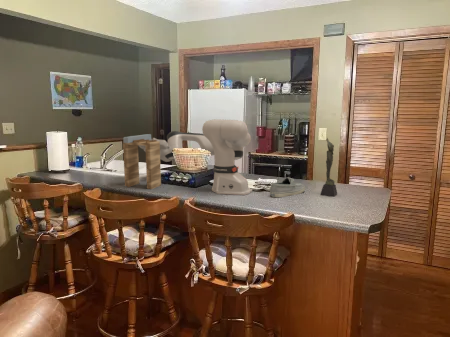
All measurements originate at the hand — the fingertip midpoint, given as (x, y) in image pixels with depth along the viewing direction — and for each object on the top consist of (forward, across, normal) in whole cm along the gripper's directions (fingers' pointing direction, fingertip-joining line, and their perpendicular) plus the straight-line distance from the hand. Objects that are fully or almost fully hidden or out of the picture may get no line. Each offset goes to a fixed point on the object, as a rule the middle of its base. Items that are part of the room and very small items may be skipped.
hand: (146, 138), depth 218 cm
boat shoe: (-16, -87, -22) cm, 91 cm away
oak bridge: (-4, -4, -29) cm, 29 cm away
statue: (-21, -107, -19) cm, 111 cm away
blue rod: (+7, 0, -5) cm, 9 cm away
